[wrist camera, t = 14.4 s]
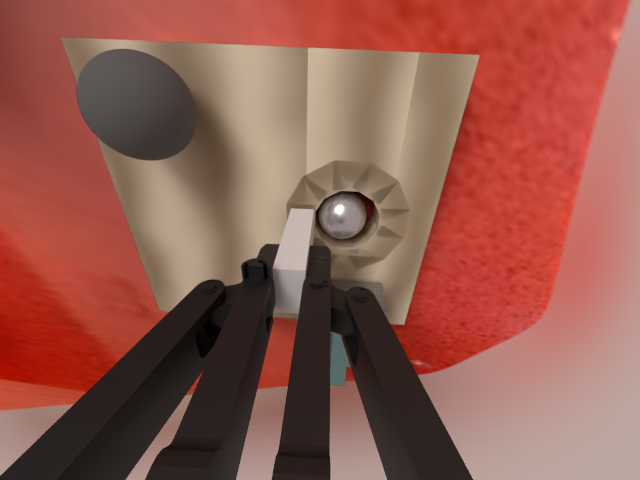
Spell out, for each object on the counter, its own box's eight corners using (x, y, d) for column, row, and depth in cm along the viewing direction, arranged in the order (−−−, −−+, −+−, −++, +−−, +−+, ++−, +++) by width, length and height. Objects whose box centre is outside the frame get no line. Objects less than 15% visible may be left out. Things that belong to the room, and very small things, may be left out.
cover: (300, 332, 25) (294, 383, 21) (301, 278, 22) (294, 325, 18) (370, 336, 25) (378, 387, 21) (381, 282, 22) (392, 330, 18)
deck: (173, 292, 27) (159, 311, 25) (94, 41, 17) (60, 37, 15) (398, 304, 27) (404, 324, 25) (460, 57, 16) (479, 55, 14)
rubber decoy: (138, 146, 17) (74, 170, 13) (110, 50, 15) (19, 40, 10) (217, 150, 17) (179, 175, 13) (202, 54, 15) (149, 46, 10)
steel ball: (312, 229, 22) (323, 248, 19) (314, 185, 20) (326, 198, 17) (354, 227, 23) (371, 245, 20) (358, 185, 21) (377, 197, 18)
